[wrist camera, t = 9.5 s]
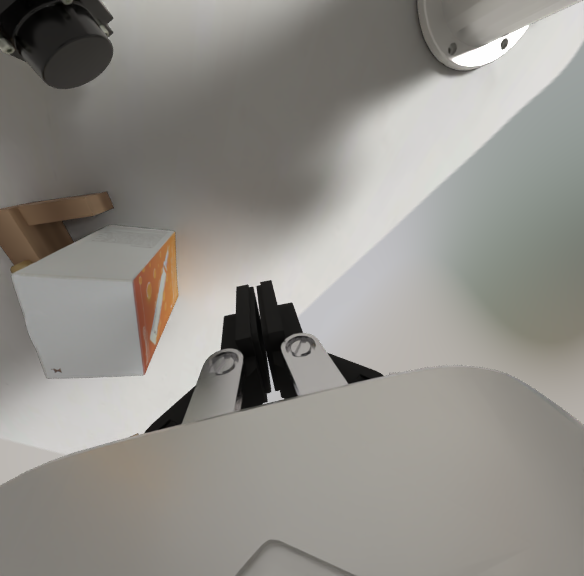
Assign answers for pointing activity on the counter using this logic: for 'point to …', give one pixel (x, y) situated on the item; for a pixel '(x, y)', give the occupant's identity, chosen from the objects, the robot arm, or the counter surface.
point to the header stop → (44, 226)
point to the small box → (100, 302)
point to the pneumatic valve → (58, 38)
